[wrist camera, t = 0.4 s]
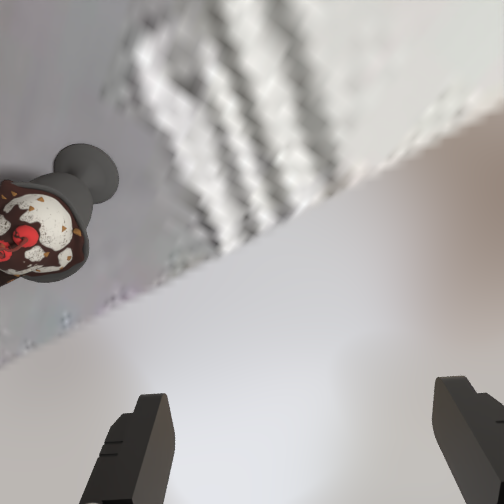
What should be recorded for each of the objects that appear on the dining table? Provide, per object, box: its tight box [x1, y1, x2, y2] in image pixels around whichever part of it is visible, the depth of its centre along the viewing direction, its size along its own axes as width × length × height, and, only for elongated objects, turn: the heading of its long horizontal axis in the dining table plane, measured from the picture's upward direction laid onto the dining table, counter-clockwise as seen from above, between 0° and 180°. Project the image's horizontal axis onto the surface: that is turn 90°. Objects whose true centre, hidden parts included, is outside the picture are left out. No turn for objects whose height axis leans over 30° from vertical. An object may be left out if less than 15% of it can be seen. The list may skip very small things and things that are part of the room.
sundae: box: [0, 144, 119, 287], centre depth 28 cm, size 7×7×15 cm
